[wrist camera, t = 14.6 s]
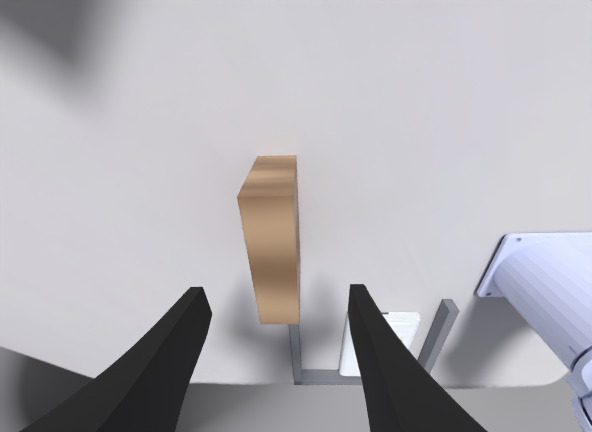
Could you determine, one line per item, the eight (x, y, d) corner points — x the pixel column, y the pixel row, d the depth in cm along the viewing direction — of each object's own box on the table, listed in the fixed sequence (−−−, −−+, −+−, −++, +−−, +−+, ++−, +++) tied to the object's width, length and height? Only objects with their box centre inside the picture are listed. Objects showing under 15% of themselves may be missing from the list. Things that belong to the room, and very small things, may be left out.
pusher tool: (300, 261, 25) (299, 324, 19) (270, 262, 25) (260, 324, 19) (296, 154, 19) (292, 195, 13) (257, 156, 19) (237, 196, 13)
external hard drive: (338, 363, 35) (346, 307, 29) (395, 365, 35) (416, 308, 28) (339, 376, 34) (348, 320, 27) (399, 377, 34) (422, 321, 27)
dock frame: (452, 299, 27) (459, 311, 25) (419, 374, 35) (423, 385, 34) (288, 300, 28) (287, 311, 26) (294, 373, 36) (294, 384, 35)
